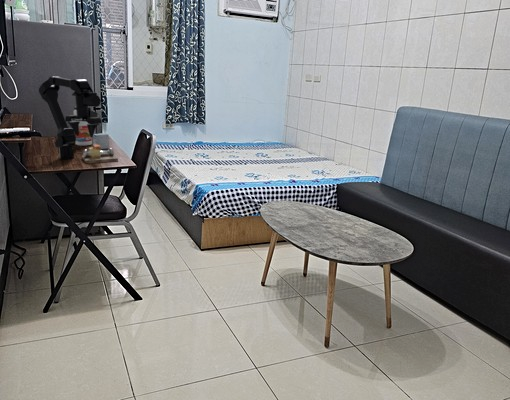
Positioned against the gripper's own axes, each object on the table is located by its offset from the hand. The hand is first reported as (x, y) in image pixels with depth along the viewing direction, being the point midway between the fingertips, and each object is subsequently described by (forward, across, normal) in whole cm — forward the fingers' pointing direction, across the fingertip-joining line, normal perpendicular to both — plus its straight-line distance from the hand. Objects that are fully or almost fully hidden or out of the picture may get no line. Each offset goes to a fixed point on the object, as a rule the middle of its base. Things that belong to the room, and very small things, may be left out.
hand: (84, 136), depth 223 cm
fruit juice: (+13, +36, -36) cm, 52 cm away
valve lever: (+6, -3, -4) cm, 8 cm away
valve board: (+13, -2, -7) cm, 15 cm away
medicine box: (+13, +18, -31) cm, 38 cm away
